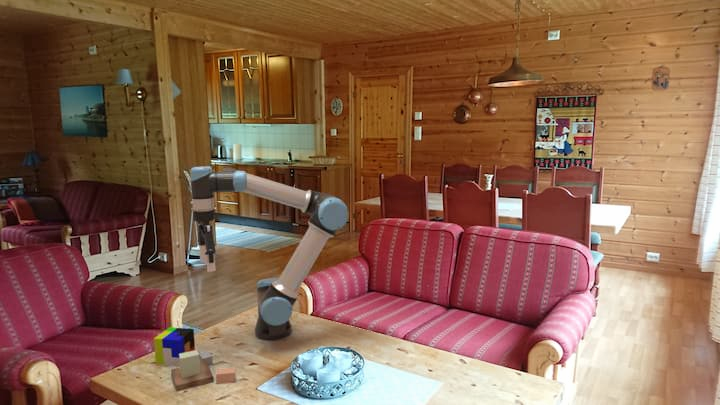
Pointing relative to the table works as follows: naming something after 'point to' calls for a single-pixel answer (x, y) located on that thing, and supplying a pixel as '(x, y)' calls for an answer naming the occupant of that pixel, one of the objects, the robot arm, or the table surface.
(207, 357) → the grey brick
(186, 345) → the puzzle toy
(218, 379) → the terracotta brick
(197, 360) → the sage brick
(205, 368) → the walnut slab
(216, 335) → the table surface
